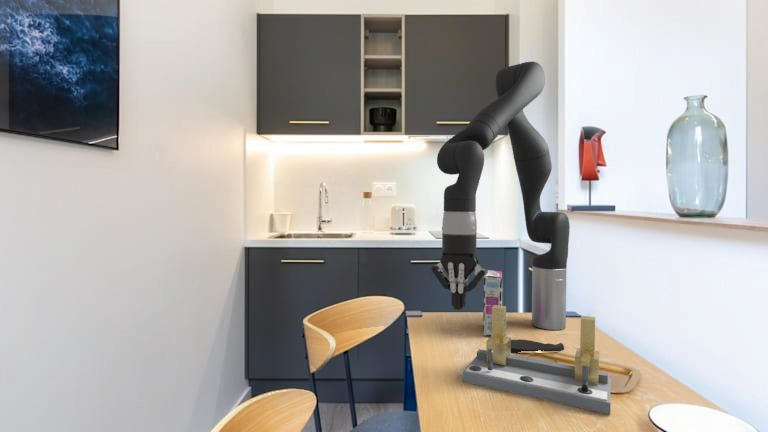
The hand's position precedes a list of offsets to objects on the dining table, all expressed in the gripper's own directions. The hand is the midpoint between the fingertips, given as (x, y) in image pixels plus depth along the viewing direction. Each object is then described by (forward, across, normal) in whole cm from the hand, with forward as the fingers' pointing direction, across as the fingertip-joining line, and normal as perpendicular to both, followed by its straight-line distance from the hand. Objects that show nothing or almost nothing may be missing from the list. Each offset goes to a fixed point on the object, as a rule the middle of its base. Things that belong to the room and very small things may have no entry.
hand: (458, 308), depth 91 cm
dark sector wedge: (+13, -13, -17) cm, 25 cm away
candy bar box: (+12, -1, -26) cm, 29 cm away
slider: (+10, -9, +2) cm, 14 cm away
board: (+12, -17, +3) cm, 21 cm away
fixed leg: (+10, -26, +2) cm, 28 cm away
